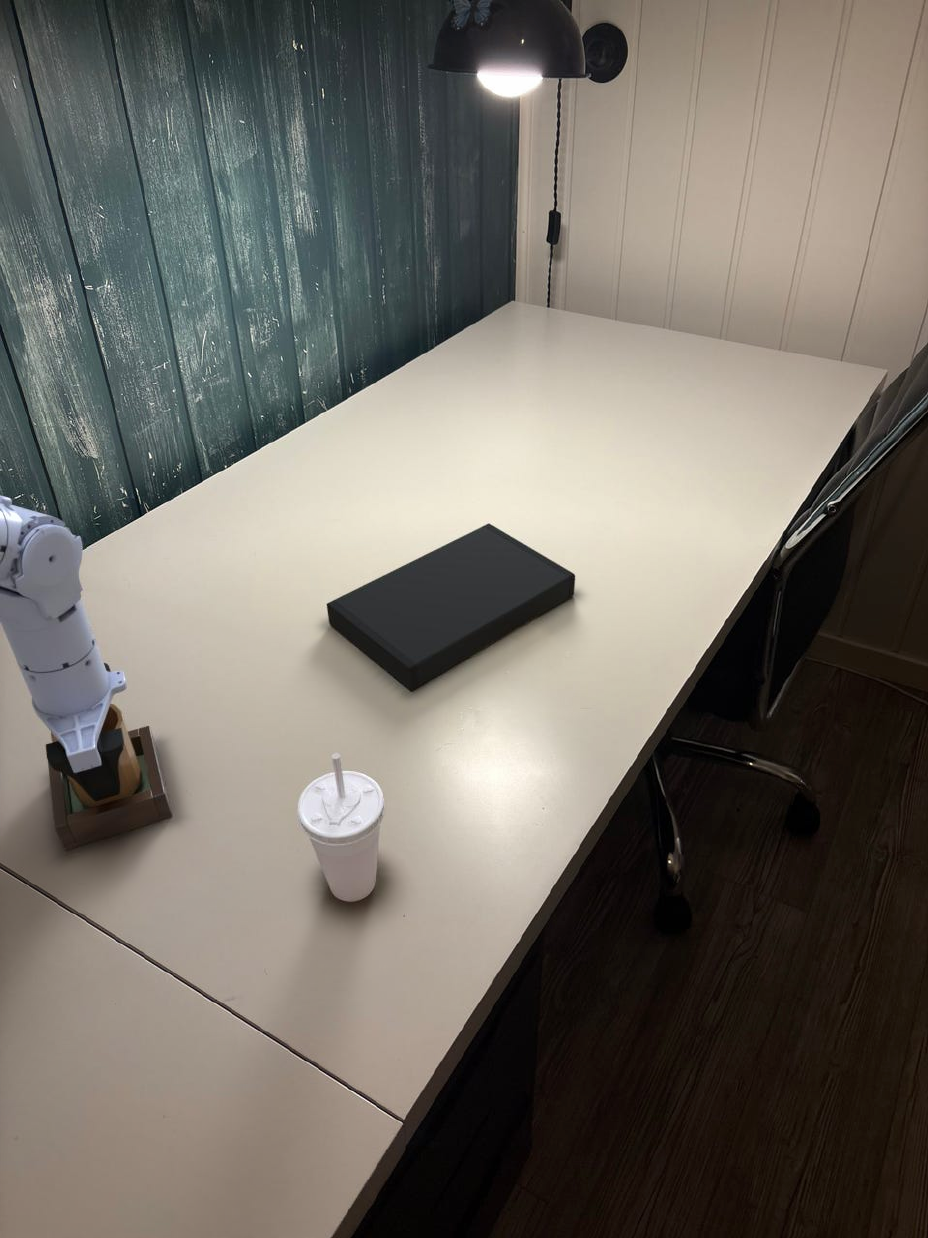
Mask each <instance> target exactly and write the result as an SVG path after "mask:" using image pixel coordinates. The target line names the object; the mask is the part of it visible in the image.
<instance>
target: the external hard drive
mask: <svg viewBox="0 0 928 1238" xmlns="http://www.w3.org/2000/svg"><path fill="white" fill-rule="evenodd" d="M575 585H576V575H575V573H574V572H572V571H570V570H569V569H567V568H565V567H563V566H562V565H560V564H559V563H557V562H556V561H553V559H550V558H548V557H547V556H545V555H543V554H542V553H539V552H538V551H537V550H534V549H533V548H531V547H530V546H528V545H526V544H525V543H523V542H522V541H520V540H518V539H516V538H515V537H513V536H511V535H510V534H508V533H506V532H504V531H503V530H502V529H500V528H498V527H497V526H495V525H493V524H491V523H486V524H484V525H482V526H480V527H478V528H476V529H474V530H472V531H470V532H468V533H466V534H464V535H462V536H460V537H458V538H456V539H454V540H451V541H450V542H448V543H446V544H444V545H441V546H439V547H438V548H436V549H434V550H432V551H429V552H428V553H426V554H424V555H422V556H420V557H418V558H416V559H413V560H412V561H410V562H407V563H406V564H403V565H402V566H400V567H398V568H396V569H393V570H391V571H389V572H388V573H386V574H384V575H382V576H379V577H377V578H375V579H373V580H371V581H369V582H367V583H366V584H363V585H362V586H359V587H357V588H355V589H353V590H350V591H349V592H347V593H345V594H343V595H340V597H337V598H334V599H333V600H331V601H329V602H327V603H326V610H327V617H328V623H329V626H330V627H332V629H334V630H335V631H336V632H338V633H339V634H340V635H341V636H343V637H344V638H345V639H346V640H348V642H350V643H351V644H352V645H354V646H355V647H356V648H358V650H360V651H361V652H362V653H363V654H364V655H366V656H367V657H368V658H370V660H372V661H373V662H374V663H376V664H377V665H378V666H379V667H380V668H382V669H383V670H384V671H386V672H387V673H388V674H389V675H390V676H391V677H393V678H394V679H396V680H397V681H398V682H399V683H400V684H401V685H402V686H404V687H405V688H406V689H407V690H409V691H410V692H411V691H414V690H415V689H417V688H418V687H420V686H422V685H423V684H425V683H428V682H429V681H430V680H432V679H433V678H436V677H437V676H439V675H440V674H442V673H444V672H446V671H447V670H449V669H451V668H453V667H454V666H456V665H458V664H459V663H461V662H463V661H464V660H466V659H468V658H469V657H471V656H473V655H475V654H476V653H478V652H480V651H482V650H483V649H485V648H487V647H488V646H490V645H491V644H493V643H495V642H496V641H498V640H500V639H502V638H504V637H505V636H507V635H508V634H511V633H513V631H515V630H518V629H519V628H520V627H522V626H524V625H526V624H527V623H529V622H531V621H532V620H534V619H536V618H537V617H539V616H541V615H543V614H544V613H546V612H548V611H550V610H551V609H553V608H554V607H557V606H558V605H560V604H561V603H563V602H565V601H566V600H568V599H569V598H571V597H574V595H575V589H576V587H575Z"/></svg>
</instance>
